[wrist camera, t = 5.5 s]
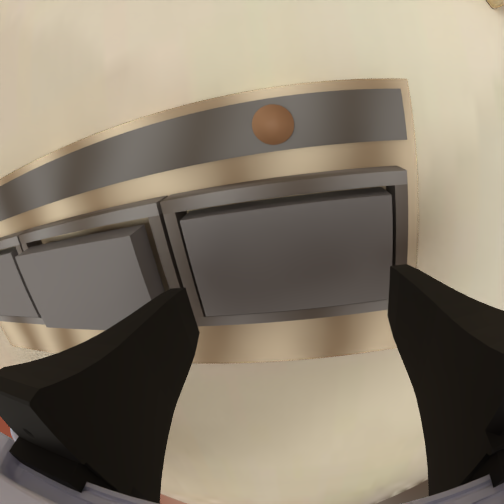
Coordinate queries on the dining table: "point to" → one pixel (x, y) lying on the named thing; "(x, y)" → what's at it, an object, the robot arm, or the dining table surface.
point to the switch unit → (226, 200)
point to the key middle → (91, 278)
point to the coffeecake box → (495, 3)
